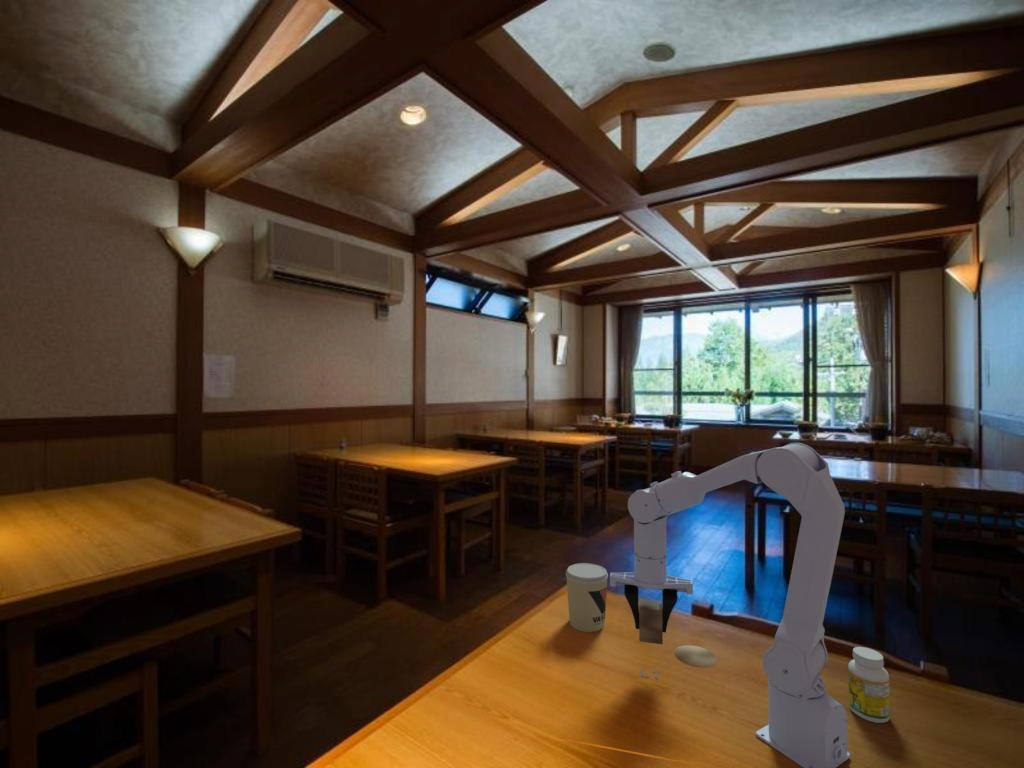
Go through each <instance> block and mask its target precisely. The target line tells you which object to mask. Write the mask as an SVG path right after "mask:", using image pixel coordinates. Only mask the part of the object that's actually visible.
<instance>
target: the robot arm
mask: <svg viewBox="0 0 1024 768" xmlns="http://www.w3.org/2000/svg"><path fill="white" fill-rule="evenodd" d="M670 475H671V477H669V478H667V479H665V480H663V481H661V482H658V481H653V482H651V483H650V484H649V485H650V487H648V488H644V489H637V490H636V491H635V492H633V493H631V495H630V496H629V498H628V500H627V510H628V512H629V514H630V516H631V517H632V518H633V549H634V550H633V551H634V554H633V555H634V557H633V560H634V562H633V564H634V569H633V570H634V571H629V572H627V571H626V572H610V574H609V586H610V587H612V588H615V587H618V586H619V587H624V589H623V590H624V592H623V593H624V596H625V600H626V601H627V603H628V605H629V608H630V610H631V613H632V616H633V621H634V626H635V629H636V630H639V589H648V590H657V591H661V592H662V594H661V595H662V596H661V597H662V599H661V602H662V633H667V627H668V622H669V619H670V616H671V614H672V611H673V609H674V608H675V606H676V604H677V602H678V593H686V595H689V596H690V595H692V596H693V594H694V583H693V580H692V579H688V578H682V577H681V578H680V577H677V576H671V575H667V574H668V573H667V571H668V570H667V518H668V516H669V515H673V514H676V513H678V512H681V511H684V510H686V509H688V508H689V509H690V508H692V507H694V506H697V505H701V504H702V503H703V501H704V499H705V496H706V493H708V492H712V491H714V490H717V489H721V488H723V487H726V486H729V485H732V484H734V483H737V482H742V481H748V482H751V483H752V484H756V485H758V484H761V483H763V484H764V485H765V486H767V487H768V488H769V489H770V490H772V491H773V492H775V493H776V494H777V495H780V496H781V497H783V498H784V499H785V500H787V501H788V502H789V503H790V504H791V505H792V507H794V508H795V510H796V511H797V512H798V513H799V514H800V516H801V519H800V525H799V529H798V530H799V531H798V535H797V541H796V546H795V551H794V555H793V562H792V567H791V568H792V569H791V572H790V578H789V582H788V583H789V584H788V589H787V594H786V599H785V602H784V603H785V604H784V608H783V615H782V618H781V620H780V623H779V626H778V628H777V630H776V633H775V635H774V641H773V644H772V645H771V646H770V648H768V649H767V650H766V651H765V653H764V655H763V657H762V666H763V671H764V673H765V675H766V677H767V678H768V685H767V686H768V692H767V693H768V696H767V697H768V724H767V725H765V726H764V727H762V728H760V729H758V730H757V731H755V736H756V737H757V738H759V739H760V740H762V741H763V742H765V743H766V744H767V745H768V746H771V747H772V748H774V749H775V750H776V751H778V752H780V753H781V754H782V755H784V756H785V757H787V758H789V759H790V760H791V761H793V762H795V763H796V764H797V765H799V766H800V767H802V768H838V767H839V766H840V765H842V764H843V763H845V761H846V762H847V761H848V759H849V758H851V753H850V752H849V751H848V715H847V711H846V708H845V707H844V705H842V703H839V702H838V701H837V700H835V699H834V698H833V697H832V696H831V695H830V694H829V693H828V692H827V690H826V688H825V686H826V685H825V684H824V681H823V677H822V675H821V673H820V671H821V669H822V668H824V666H826V664H827V662H828V650H827V648H826V644H825V640H824V639H825V632H826V629H825V627H824V624H823V623H824V619H825V614H826V608H827V602H828V598H829V593H830V590H831V589H830V588H831V584H832V579H833V574H834V569H835V563H836V558H837V554H838V553H837V552H838V548H839V544H840V539H841V533H842V528H843V523H844V518H845V513H846V508H845V504H844V502H843V500H842V498H841V496H840V493H839V491H838V488H837V487H836V485H835V482H834V480H833V477H832V475H831V473H830V467H829V463H828V462H827V461H826V460H825V459H824V458H823V457H822V456H821V455H820V454H819V453H818V452H817V451H816V450H815V449H814V448H813V447H811V446H809V445H808V444H805V443H802V442H791V443H787V444H785V445H784V446H781V447H780V446H779V447H777V446H776V447H773V448H769V449H764V450H761V451H755V452H752V453H748V454H743V455H741V456H738V457H736V458H733V459H732V460H729V461H727V462H725V463H722V464H721V465H718V466H716V467H714V468H712V469H709V470H706V471H704V472H702V473H700V474H697V475H696V474H695V473H692V472H689V471H684V472H682V471H681V470H679V471H675V472H673V473H671V474H670Z"/></svg>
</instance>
